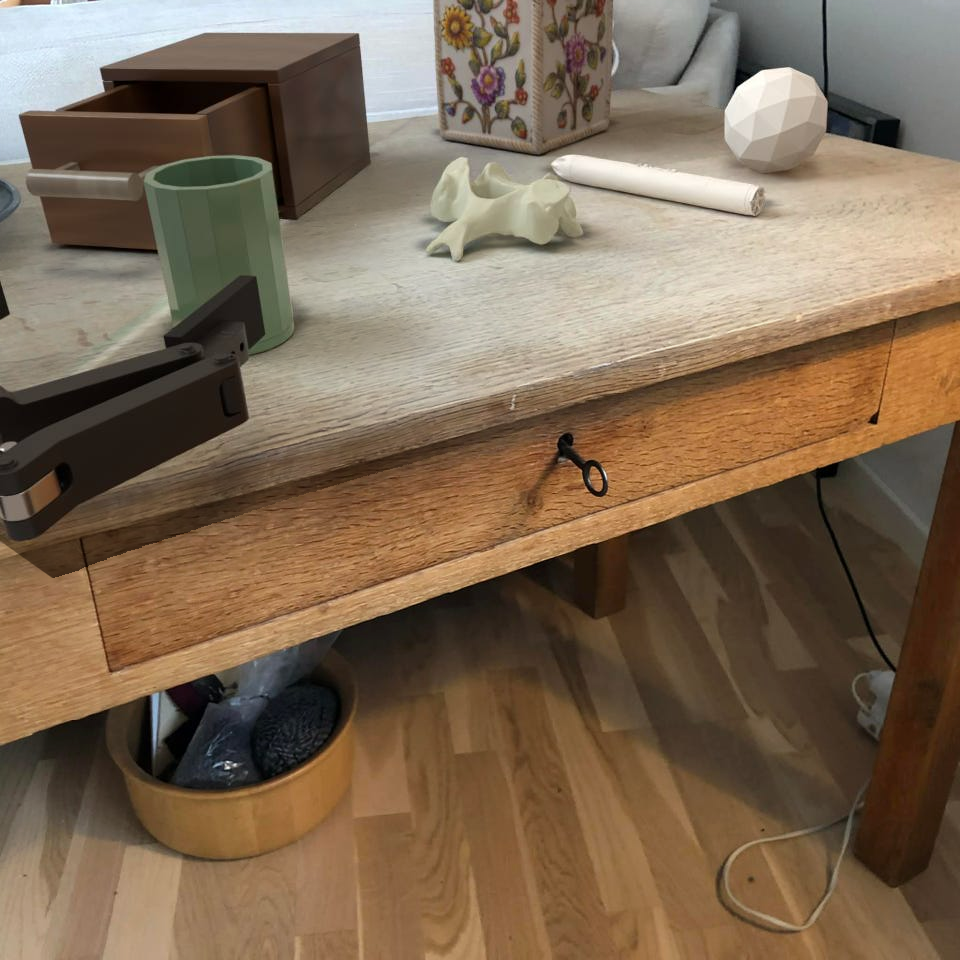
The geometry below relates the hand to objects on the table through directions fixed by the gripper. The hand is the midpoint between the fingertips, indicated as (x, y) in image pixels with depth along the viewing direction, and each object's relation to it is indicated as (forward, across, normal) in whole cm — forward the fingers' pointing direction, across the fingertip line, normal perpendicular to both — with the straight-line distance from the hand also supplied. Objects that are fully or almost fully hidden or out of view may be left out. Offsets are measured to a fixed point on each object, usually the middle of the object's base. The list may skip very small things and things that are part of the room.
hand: (120, 295), depth 46 cm
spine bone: (+27, -10, +6) cm, 30 cm away
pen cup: (+10, 0, +6) cm, 11 cm away
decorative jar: (+57, -6, +6) cm, 57 cm away
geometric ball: (+48, -28, +6) cm, 55 cm away
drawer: (+24, +12, +5) cm, 27 cm away
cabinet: (+38, +12, +6) cm, 40 cm away
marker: (+39, -19, +6) cm, 44 cm away
